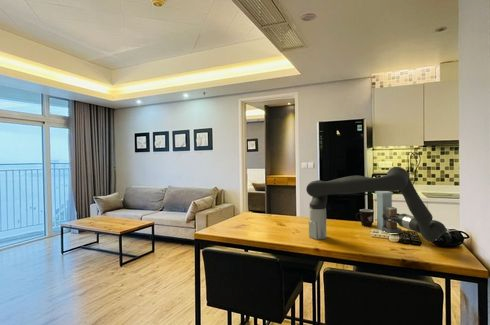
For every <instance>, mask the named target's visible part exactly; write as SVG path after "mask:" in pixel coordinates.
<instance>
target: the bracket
mask: <svg viewBox="0 0 490 325" xmlns="http://www.w3.org/2000/svg"><path fill="white" fill-rule="evenodd" d="M381 231H382V232H383V231H385V232H387V233H403V232H402V227H398V226H397V229H389V228H387V226H382V230H381ZM385 232H384V233H385ZM387 233H386V234H387Z"/></svg>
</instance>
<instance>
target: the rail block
mask: <svg viewBox="0 0 490 325" xmlns="http://www.w3.org/2000/svg"><path fill="white" fill-rule="evenodd" d="M397 213H398V209H397V207H393V206H392V207H386V215H389V216H390V215H395V216H396V215H397ZM392 219H393V217H392ZM397 227H398V223H396V222H388V221H387V228H389V229H397Z"/></svg>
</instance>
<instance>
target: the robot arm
mask: <svg viewBox="0 0 490 325" xmlns="http://www.w3.org/2000/svg"><path fill="white" fill-rule="evenodd" d="M415 188H416V187H415V185H414V184H413V183H412V180H411V177H410V176H409V174H408V171H407V170H406V169H405V168H403V167H400V166H393V167H390V169H388V171H387V173H386V175H383V176H378V177H377V176H376V177H368V176H364V175H360V174H359V175H357V174H356V175H349V176H344V177H339V178H335V179H332V180H328V181H327V180H325V181H323V180H319V179H317V180H313V181H311V182H309V183H308V184H307V185H306V193H307V194H308V195H309V196H311V197H312V198H311V201H310V202H309V220H308V236H309V238H311V239H314V240H325V239H327V231H328V230H327V205H328V204H327V203H328V195H349V194H359V193H371V192H373V193H374V192H375V191H389V192H399V191H400V192H401V194H402V196H403V197H404V202H405V203H406V205H407V208H408V209H409V212H410V213H411V215H410V214H407V213H398V212H397V215H396V216H395V215H390V216H389V215H385V214H383V215H382V217H383V218H384V220H385V221H388V222H396V223H397V226H399V227H400V228H404V229H406V230H409V231H413V232H415V233H418V234H420V235H421V236H422V237H423V239H425V240H426V241H427V242H431V243H432V242H435V241H437V240H438V239H439V238H441V237H442V236H443V235H444V234H445V233H446V231H447V228H446V226H445V224H444V223H442V222H441V221H438V220H436V219H433V218H434V217H433V214H432V213H431V212H430V210H429V209H428V207H427V206H426V204H425V203H424V201H423V200H422V199H421V196H420V195H419V193H418V192H417V190H416V189H415ZM392 217H393V219H392Z"/></svg>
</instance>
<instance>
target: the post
mask: <svg viewBox="0 0 490 325" xmlns="http://www.w3.org/2000/svg"><path fill="white" fill-rule="evenodd" d="M374 192H375V195H376V228H377V229H378V230H381V231H382V226H387V221H385V220H384V218H383V217H382V215H383V214H385V215H386V207H393V197H392V196H394V191H374Z"/></svg>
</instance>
